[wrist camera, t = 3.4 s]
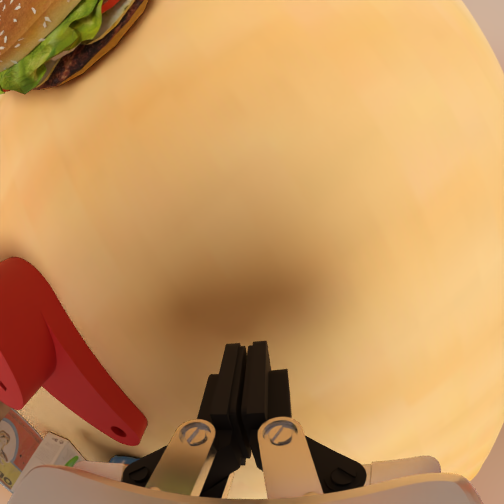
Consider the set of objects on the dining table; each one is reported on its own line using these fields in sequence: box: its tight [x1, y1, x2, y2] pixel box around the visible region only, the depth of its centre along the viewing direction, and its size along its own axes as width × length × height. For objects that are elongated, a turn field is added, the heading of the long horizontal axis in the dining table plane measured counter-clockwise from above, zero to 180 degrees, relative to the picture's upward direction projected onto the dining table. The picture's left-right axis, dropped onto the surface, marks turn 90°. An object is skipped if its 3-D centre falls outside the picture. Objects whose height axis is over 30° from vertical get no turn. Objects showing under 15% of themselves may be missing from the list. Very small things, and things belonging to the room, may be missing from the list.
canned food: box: [0, 408, 43, 494], centre depth 17 cm, size 11×11×12 cm
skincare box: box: [11, 432, 86, 492], centre depth 16 cm, size 6×4×12 cm
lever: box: [0, 257, 147, 446], centre depth 14 cm, size 18×9×7 cm, turn 40°
